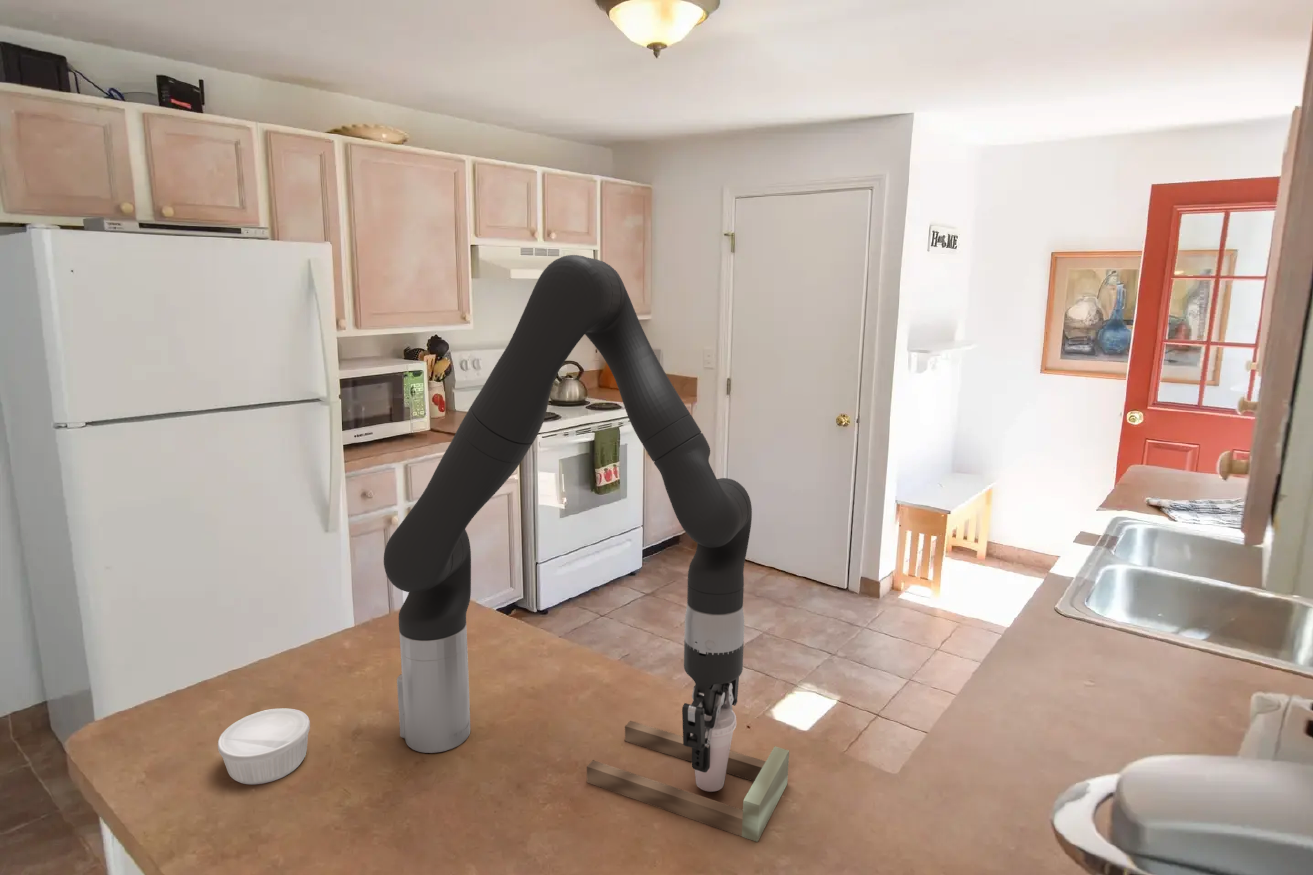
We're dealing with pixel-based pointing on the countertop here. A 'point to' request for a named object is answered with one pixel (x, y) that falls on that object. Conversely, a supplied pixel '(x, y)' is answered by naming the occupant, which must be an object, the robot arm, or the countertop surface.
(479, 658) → the countertop surface
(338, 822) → the countertop surface
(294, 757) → the ramekin
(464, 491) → the robot arm
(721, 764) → the smoothie
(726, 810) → the guide channel
